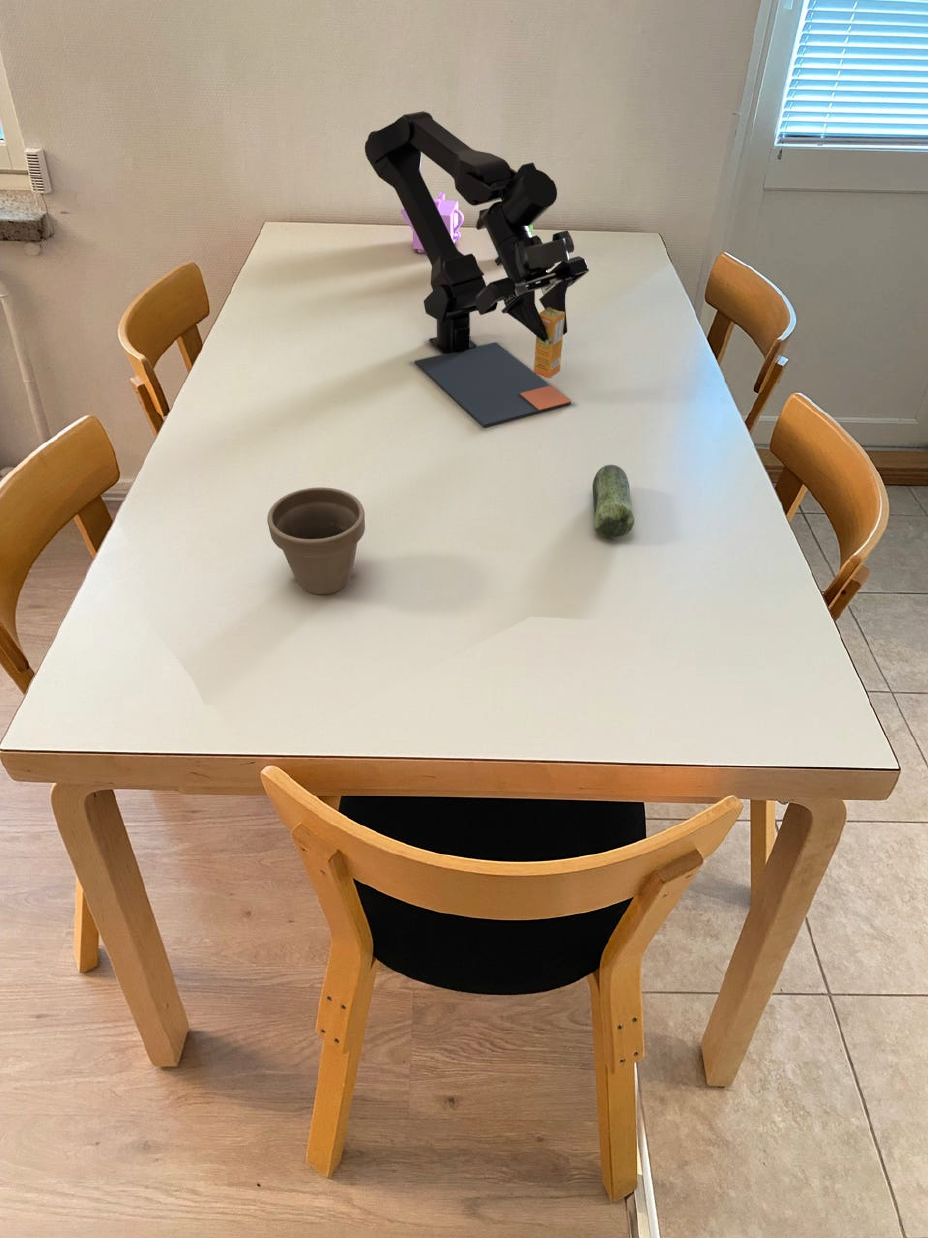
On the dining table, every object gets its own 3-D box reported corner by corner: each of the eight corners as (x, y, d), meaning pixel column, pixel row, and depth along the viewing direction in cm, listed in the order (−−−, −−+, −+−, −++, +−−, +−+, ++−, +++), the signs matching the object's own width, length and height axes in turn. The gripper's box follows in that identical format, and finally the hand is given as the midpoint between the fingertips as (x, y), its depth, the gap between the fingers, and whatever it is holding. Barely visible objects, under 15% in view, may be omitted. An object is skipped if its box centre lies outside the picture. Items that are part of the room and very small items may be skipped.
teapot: (410, 230, 212) (409, 183, 205) (469, 234, 210) (470, 187, 204) (393, 260, 198) (391, 211, 192) (456, 265, 197) (457, 216, 190)
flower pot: (259, 572, 121) (248, 505, 114) (337, 540, 126) (331, 474, 120) (306, 621, 114) (298, 553, 107) (386, 585, 119) (383, 518, 113)
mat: (414, 363, 164) (414, 360, 164) (495, 344, 170) (496, 341, 170) (483, 427, 148) (483, 424, 148) (570, 404, 154) (571, 401, 154)
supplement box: (531, 373, 152) (536, 312, 145) (543, 365, 154) (548, 305, 147) (549, 380, 150) (554, 318, 144) (560, 371, 153) (567, 311, 146)
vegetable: (632, 546, 126) (637, 514, 123) (592, 544, 126) (597, 512, 123) (625, 487, 137) (630, 456, 133) (589, 485, 137) (592, 454, 134)
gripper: (490, 227, 135) (536, 331, 136) (588, 201, 143) (630, 299, 144) (455, 264, 144) (498, 361, 145) (548, 238, 153) (588, 329, 154)
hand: (555, 336), depth 147 cm, fingers closed on supplement box, 3 cm apart
